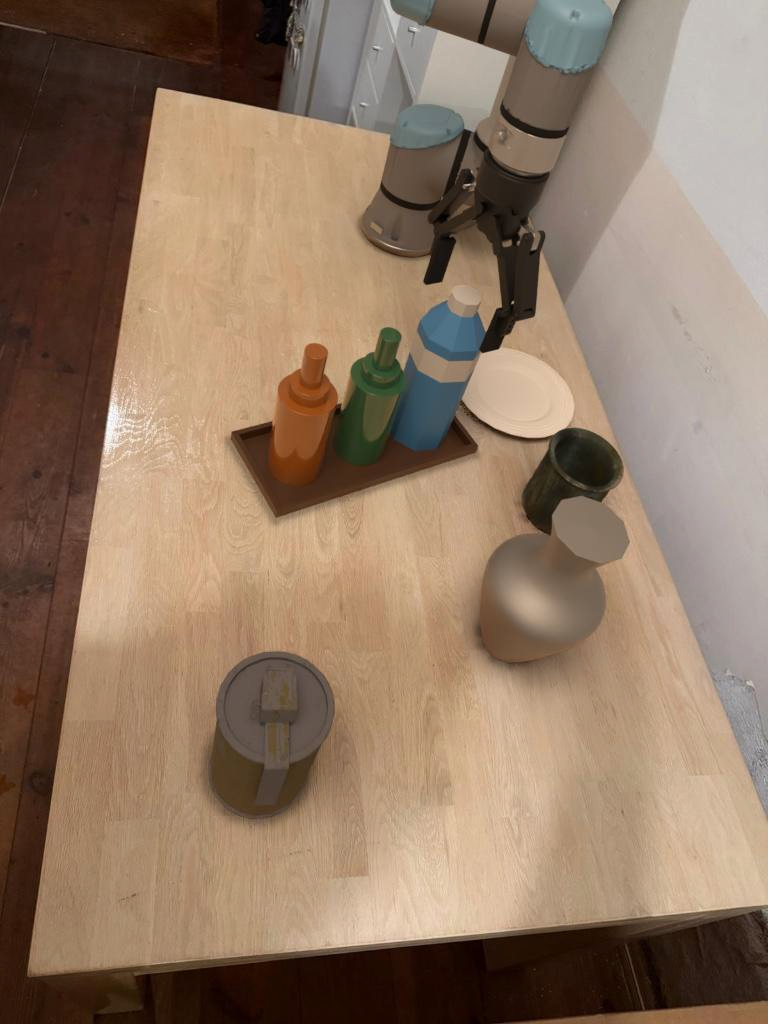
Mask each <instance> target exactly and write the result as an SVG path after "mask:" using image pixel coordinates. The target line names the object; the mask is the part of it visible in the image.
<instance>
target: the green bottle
mask: <svg viewBox="0 0 768 1024" xmlns="http://www.w3.org/2000/svg"><path fill="white" fill-rule="evenodd" d="M402 338H403V337H402V333H401V332H400V331H399V330H398V329H396V328H394V327H388V326H386V327H383V328H381V329H380V331H379V334H378V337H377V341H376V345H375V347H374V348H375V349H374V351H371V352H369V353H367V354H366V355H364V356H363V357H360V358H358V359H356V360H355V361H354V362H353V363H352V365H351V367H350V370H349V374H348V379H347V382H346V386H345V390H344V393H343V394H344V395H343V397H342V402H341V403H342V406H341V410H340V414H339V418H338V422H337V426H336V429H335V433H334V437H333V447H334V450H335V452H336V453H337V454H338V456H339V457H340V458H342V459H343V460H345V461H346V462H348V463H351V464H354V465H360V466H366V465H371V464H374V463H375V462H377V461H378V460H379V459H380V458H381V457H382V455H383V452H384V449H385V447H386V444H387V441H388V438H389V435H390V432H391V429H392V426H393V423H394V420H395V417H396V414H397V411H398V408H399V405H400V402H401V399H402V396H403V393H404V390H405V387H406V384H407V379H406V375H405V373H404V369H403V368H402V366H401V363H400V361H399V359H397V355H398V352H399V349H400V345H401V342H402Z"/></svg>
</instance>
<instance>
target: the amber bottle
mask: <svg viewBox="0 0 768 1024" xmlns="http://www.w3.org/2000/svg"><path fill="white" fill-rule="evenodd" d="M303 351H304V352H303V357H302V363H301V367H300V368H297V369H296V370H294V371H293V372H292V373H290V374H287V375H286V376H284V377H283V378H282V379H281V380H280V382H279V383H278V385H277V391H276V398H275V404H274V410H273V418H272V421H273V423H272V430H271V436H270V443H269V449H268V456H267V467H268V470H269V472H270V473H271V475H272V476H273V477H274V478H275V479H277V480H278V481H280V482H282V483H284V484H287V485H292V486H302V485H307V484H309V483H311V482H313V481H314V480H315V479H316V478H317V477H318V476H319V474H320V471H321V467H322V463H323V459H324V455H325V451H326V447H327V443H328V439H329V435H330V431H331V426H332V422H333V418H334V414H335V410H336V406H337V404H338V401H339V394H338V391H337V389H336V387H335V385H334V384H333V383H332V382H331V380H330V379H329V376H328V375H326V374H325V371H326V366H327V361H328V356H329V350H328V349H327V347H326V346H324V345H323V344H322V343H318V342H312V343H307V345H305V347H304V350H303Z"/></svg>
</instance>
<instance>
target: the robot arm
mask: <svg viewBox="0 0 768 1024" xmlns="http://www.w3.org/2000/svg"><path fill="white" fill-rule="evenodd" d="M389 3H390V7H391V10H392V11H393V12H394V13H395V14H396V15H398V16H401V17H402V18H405V19H409V21H412V22H415V23H417V25H418V26H422V27H428V28H431V29H434V30H437V31H440V32H443V33H446V34H449V35H452V36H455V37H458V38H461V39H464V40H466V41H470V42H473V43H475V44H479V45H481V46H483V47H486V48H489V49H492V50H495V51H498V52H500V53H502V54H503V53H504V54H506V55H508V59H507V63H506V66H505V68H504V71H503V74H502V77H501V81H500V84H499V87H498V89H497V93H496V95H495V97H494V101H493V105H492V106H491V107H492V108H491V111H490V113H489V116H488V117H485V118H483V119H481V120H480V121H479V122H478V123H477V125H476V127H475V131H472V130H469V129H466V128H465V120H464V118H463V117H462V115H461V114H460V113H458V112H455V110H454V109H452V108H449V107H446V106H443V105H438V104H431V103H420V104H414V105H410V106H408V107H406V108H404V109H403V110H402V111H400V112H399V113H398V115H397V117H396V119H395V122H394V125H393V128H392V132H391V134H390V135H389V146H388V151H387V155H386V159H385V163H384V167H383V172H382V176H381V180H380V185H379V187H378V190H377V191H376V193H375V195H373V196H374V197H373V198H372V200H371V202H370V203H369V205H368V206H367V207H366V208H365V211H364V212H363V216H362V220H361V226H360V227H361V231H362V232H363V233H362V234H363V235H364V236H365V237H366V239H367V240H369V242H370V243H372V244H373V245H374V246H376V247H377V248H379V249H380V250H382V251H385V252H387V253H390V254H392V255H396V256H401V257H405V258H406V257H407V258H418V257H423V256H426V255H429V256H430V257H429V261H428V263H427V267H426V270H425V274H424V276H423V280H422V283H423V284H424V285H425V286H429V285H435V284H439V283H443V281H444V279H445V275H446V272H447V270H448V266H449V263H450V261H451V258H452V255H453V252H454V249H455V246H456V242H457V239H456V238H455V236H451V235H458V233H459V232H461V231H462V230H464V229H467V228H469V227H470V226H471V227H472V226H473V225H475V224H476V227H475V228H476V229H477V230H478V232H480V233H482V234H484V236H485V238H486V240H487V241H488V242H489V243H490V244H492V245H491V246H492V253H493V255H494V256H496V263H497V270H498V271H497V272H498V282H499V291H500V292H499V293H500V301H501V302H500V303H501V307H496V309H495V310H494V313H493V316H492V318H491V320H490V322H489V325H488V327H487V330H486V334H485V337H484V339H483V341H482V344H481V346H480V348H479V350H480V351H481V353H486V352H490V351H494V350H498V349H499V348H500V347H502V343H503V342H504V339H505V337H506V336H509V335H510V334H511V333H512V332H513V329H514V327H515V325H516V323H517V322H520V321H525V320H529V319H533V318H535V317H536V314H537V313H536V312H537V300H538V290H539V289H538V287H539V276H540V265H541V264H540V262H541V252H542V250H543V246H544V243H545V241H546V232H545V231H544V230H535V229H534V228H533V227H531V226H530V225H529V216H530V213H531V212H532V210H533V209H534V208H535V206H537V204H538V203H539V202H540V199H541V197H542V195H543V193H544V190H545V187H546V185H547V183H548V180H549V178H550V173H551V172H550V171H552V170H553V169H554V167H555V166H556V165H555V164H556V162H557V160H558V157H559V155H560V152H561V149H562V148H563V145H564V143H565V141H566V138H567V135H568V132H569V129H570V127H571V124H572V121H573V119H574V117H575V114H576V112H577V110H578V107H579V105H580V102H581V100H582V99H583V96H584V95H585V91H586V89H587V88H588V85H589V82H590V79H591V77H592V75H593V73H594V71H595V68H596V65H597V64H598V62H599V61H600V60H601V58H602V56H603V54H604V52H605V45H606V43H607V39H608V36H609V33H610V30H611V28H612V26H613V20H614V16H613V11H612V9H611V7H610V6H609V5H608V4H607V3H606V2H605V0H389ZM463 205H464V206H466V207H468V208H466V209H464V210H462V212H461V213H459V214H457V215H456V216H454V214H455V213H456V212H457V211H458V210H459V209H460V208H461V207H462V206H463ZM452 216H453V217H452ZM510 241H511V245H509V246H504V245H503V244H505V243H508V242H510Z"/></svg>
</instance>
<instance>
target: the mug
mask: <svg viewBox="0 0 768 1024" xmlns="http://www.w3.org/2000/svg"><path fill="white" fill-rule="evenodd" d="M624 473H625V469H624V463H623V460H622V457H621V456H620V454H619V452H618V451H617V449H616V448H615V447H614V446H613V445H612V443H610V442H609V441H608V440H607V439H606V438H604V437H603V436H601V435H599V434H598V433H596V432H594V431H591V430H589V429H585V428H582V427H566V428H565V429H562V430H560V431H558V432H557V433H555V434H554V435H553V436H551V438H550V440H549V442H548V448H547V451H546V452H545V454H544V455H543V457H542V459H541V460H540V462H539V464H538V466H537V467H536V468H535V471H534V472H533V473H532V475H531V477H530V479H529V480H528V482H527V484H526V485H525V487H524V488H523V491H522V494H521V502H522V503H521V504H522V508H523V510H524V512H525V514H526V516H527V518H528V520H529V521H530V522H531V523H532V524H533V525H534V526H535V527H536V528H537V529H539V530H540V531H542V532H544V533H547V534H548V535H551V531H552V515H553V513H554V511H555V510H556V508H557V507H558V505H559V503H560V502H561V500H564V499H569V498H574V497H579V496H584V497H587V498H590V499H592V500H595V501H598V502H601V503H603V501H604V499H605V498H606V497H607V495H608V494H609V493H610V491H612V490H613V489H616V488H617V487H618V486H619V485H620V484H621V482H622V480H623V477H624Z"/></svg>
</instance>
